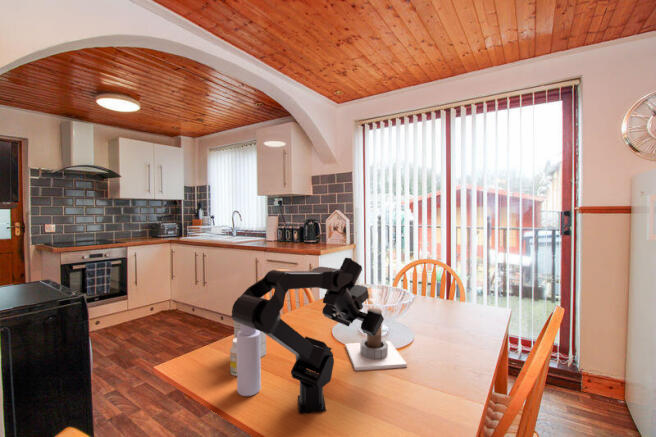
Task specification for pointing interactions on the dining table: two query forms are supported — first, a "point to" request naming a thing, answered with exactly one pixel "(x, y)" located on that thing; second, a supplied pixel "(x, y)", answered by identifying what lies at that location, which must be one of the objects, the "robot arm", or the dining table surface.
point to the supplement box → (262, 338)
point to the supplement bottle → (233, 358)
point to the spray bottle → (248, 361)
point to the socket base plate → (374, 356)
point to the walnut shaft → (376, 339)
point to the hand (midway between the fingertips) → (360, 329)
